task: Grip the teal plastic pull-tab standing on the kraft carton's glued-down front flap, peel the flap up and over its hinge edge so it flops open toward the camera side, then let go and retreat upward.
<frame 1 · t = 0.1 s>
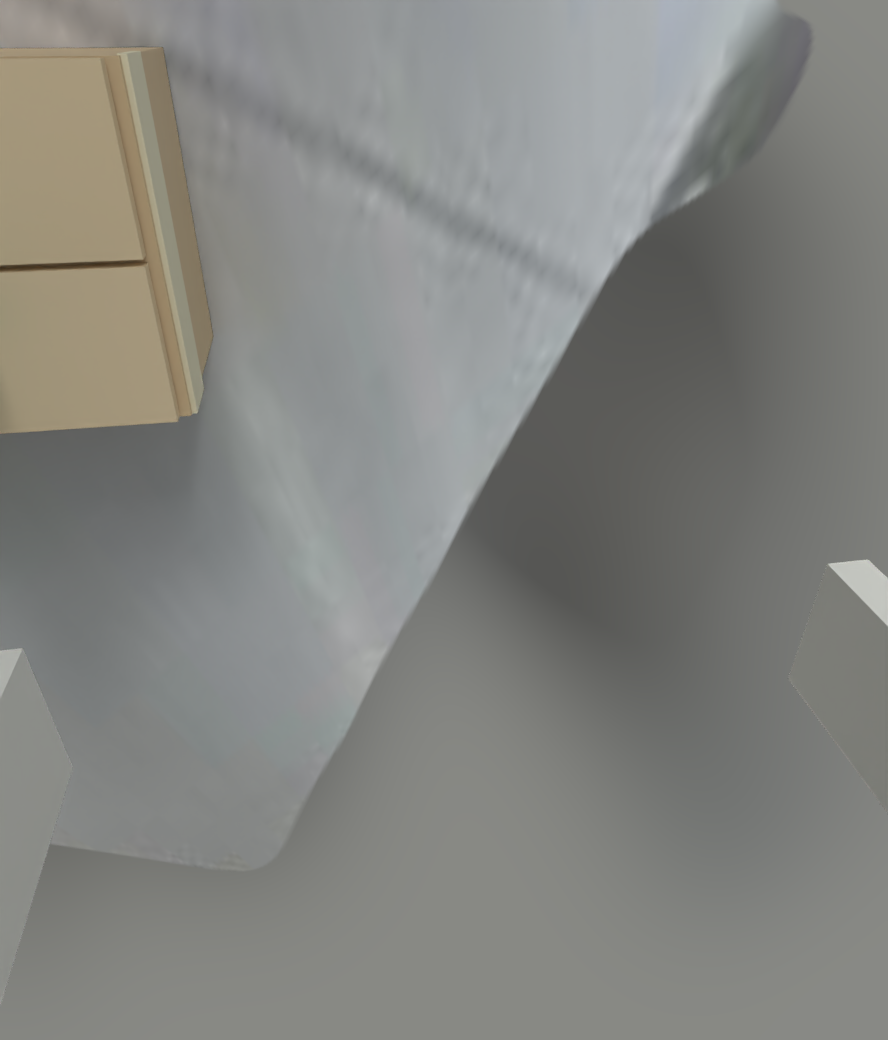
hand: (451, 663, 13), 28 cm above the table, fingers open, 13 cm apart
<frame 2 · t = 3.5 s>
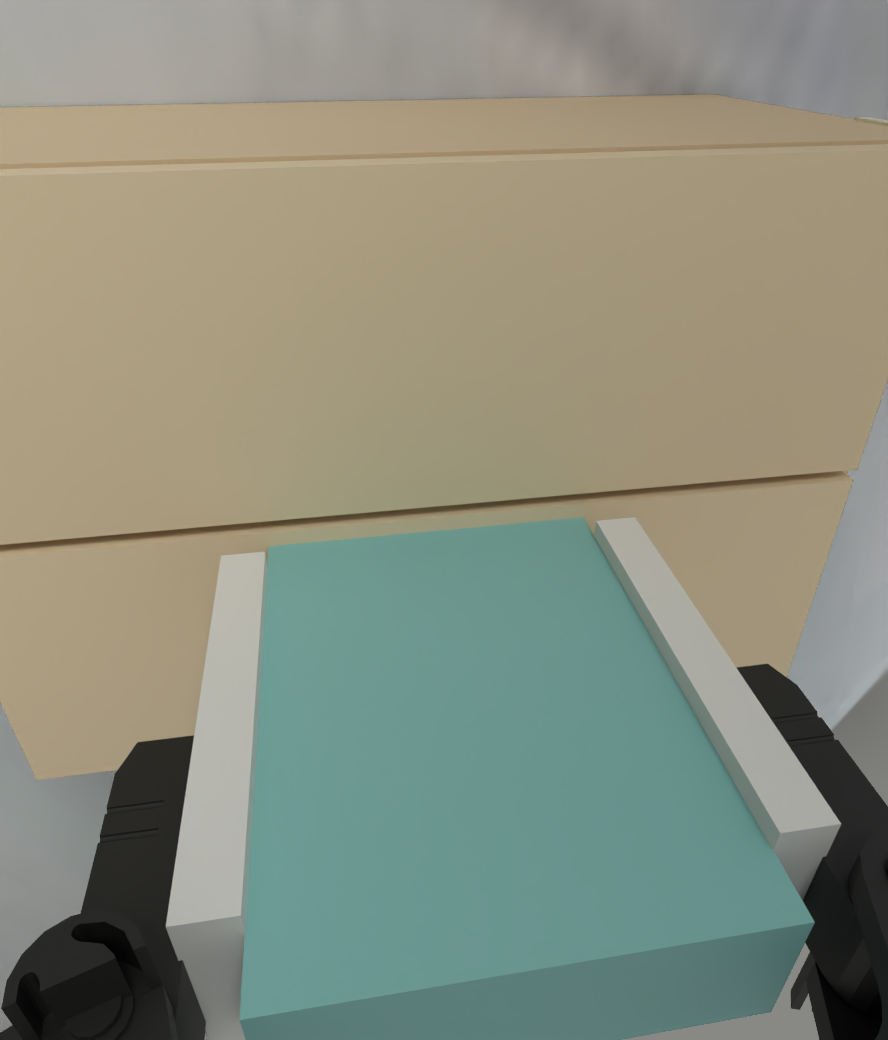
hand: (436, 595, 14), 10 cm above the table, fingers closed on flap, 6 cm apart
flap: (463, 782, 13), point 13 cm above the table, hinge at -0.1°, touching gripper
carton: (383, 335, 22), on the table
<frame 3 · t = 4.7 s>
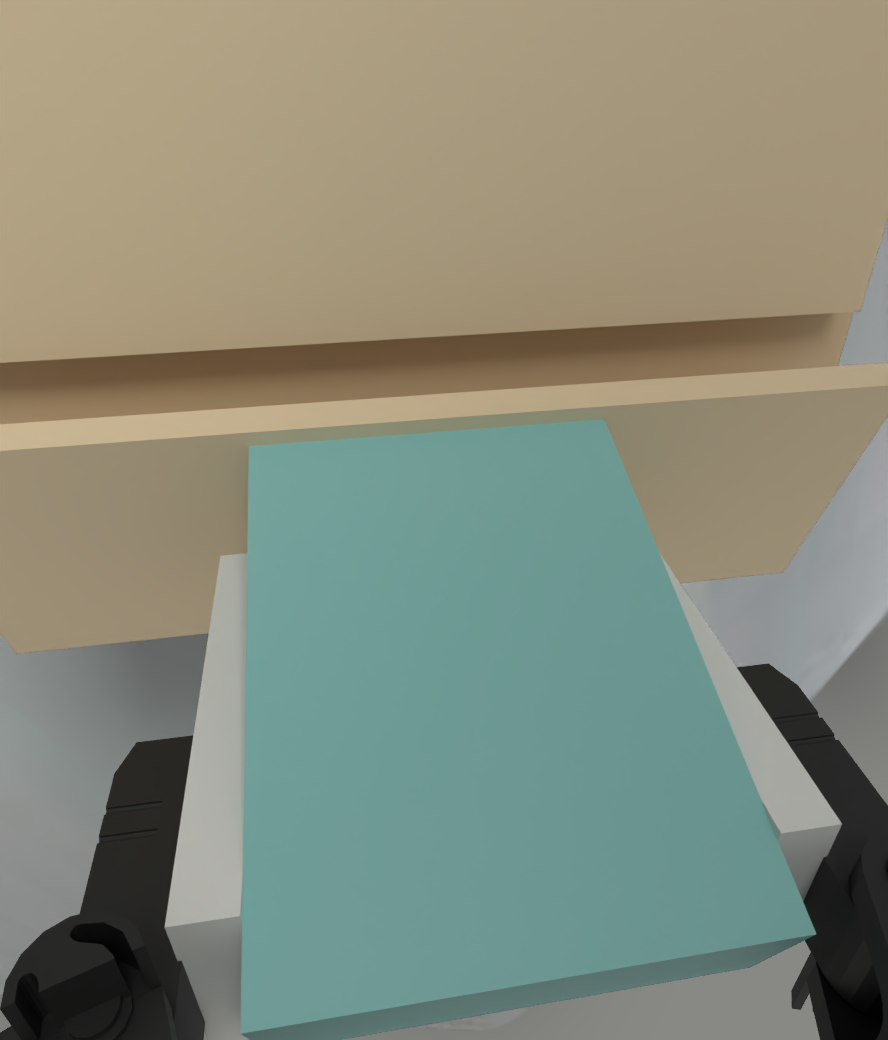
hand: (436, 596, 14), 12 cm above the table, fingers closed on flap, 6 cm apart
flap: (459, 705, 12), point 14 cm above the table, hinge at 18.0°, touching gripper
carton: (374, 229, 22), on the table
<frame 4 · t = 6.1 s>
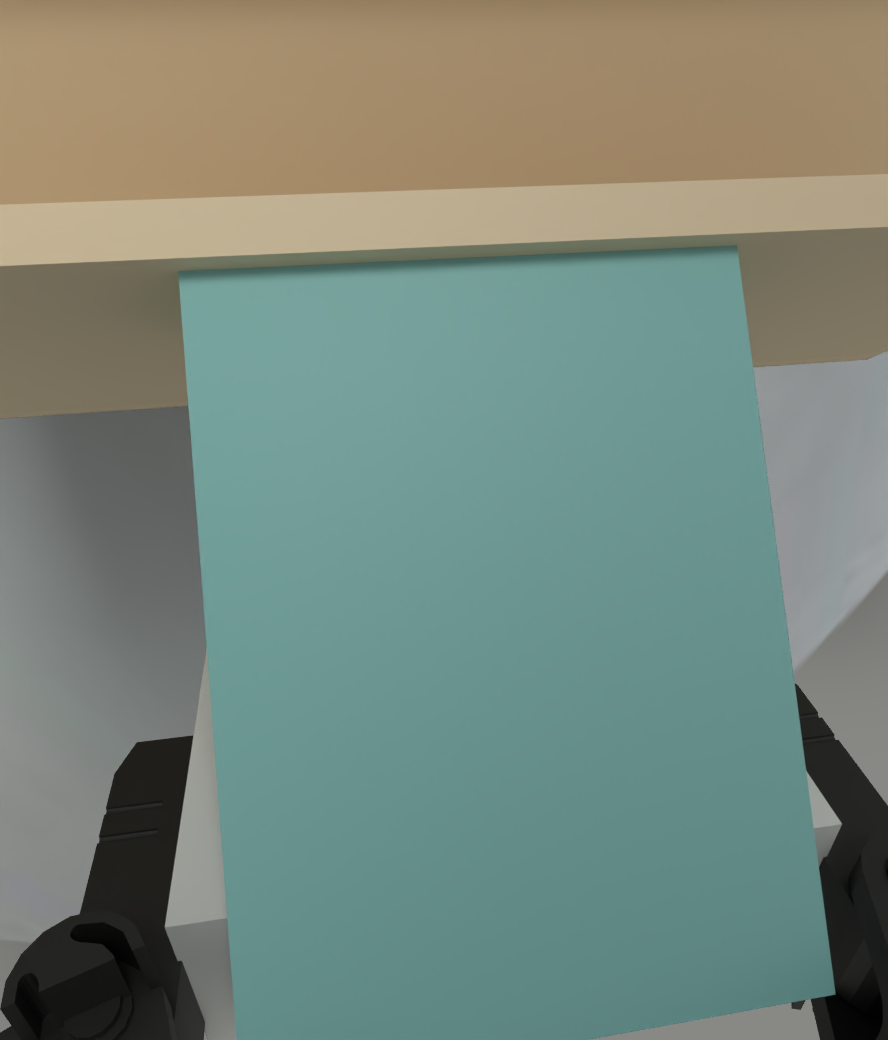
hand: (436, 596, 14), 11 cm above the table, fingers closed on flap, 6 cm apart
flap: (469, 601, 10), point 14 cm above the table, hinge at 51.8°, touching gripper
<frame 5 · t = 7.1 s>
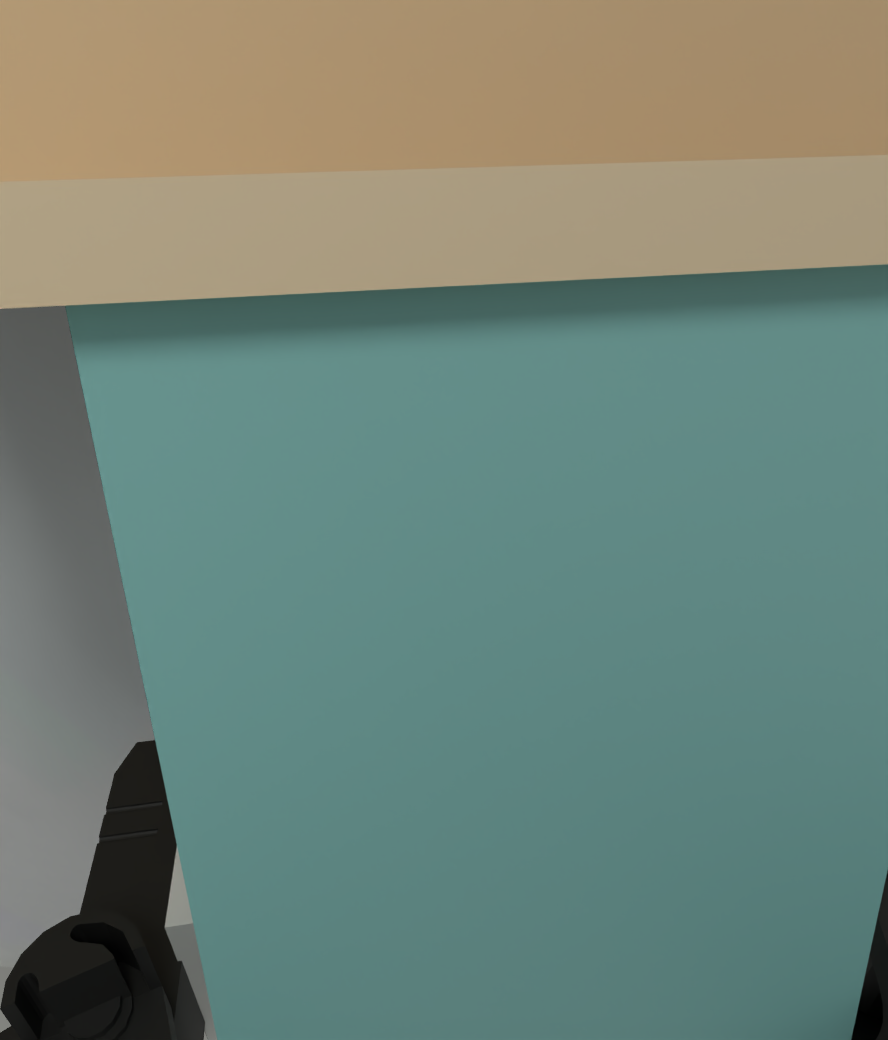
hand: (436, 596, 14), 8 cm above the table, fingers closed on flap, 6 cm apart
flap: (498, 619, 8), point 13 cm above the table, hinge at 76.4°, touching gripper
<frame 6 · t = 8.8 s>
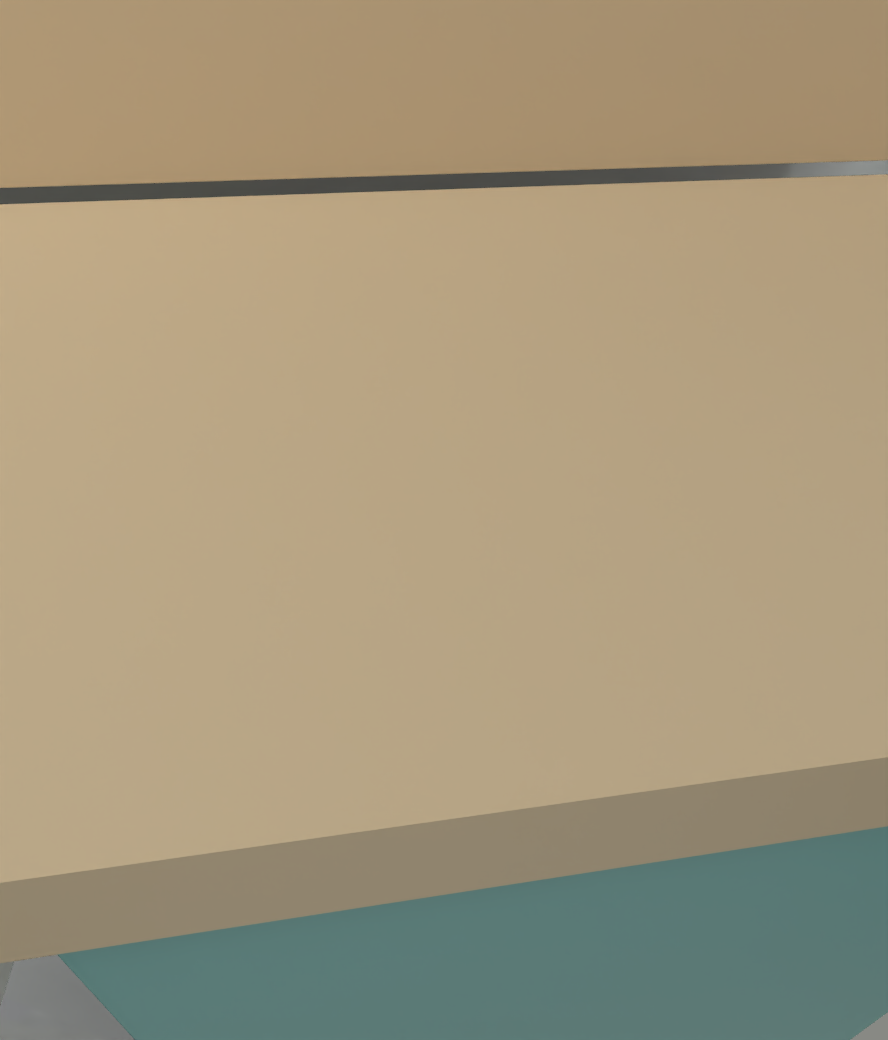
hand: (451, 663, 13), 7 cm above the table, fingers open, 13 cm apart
flap: (520, 729, 8), point 11 cm above the table, hinge at 98.9°
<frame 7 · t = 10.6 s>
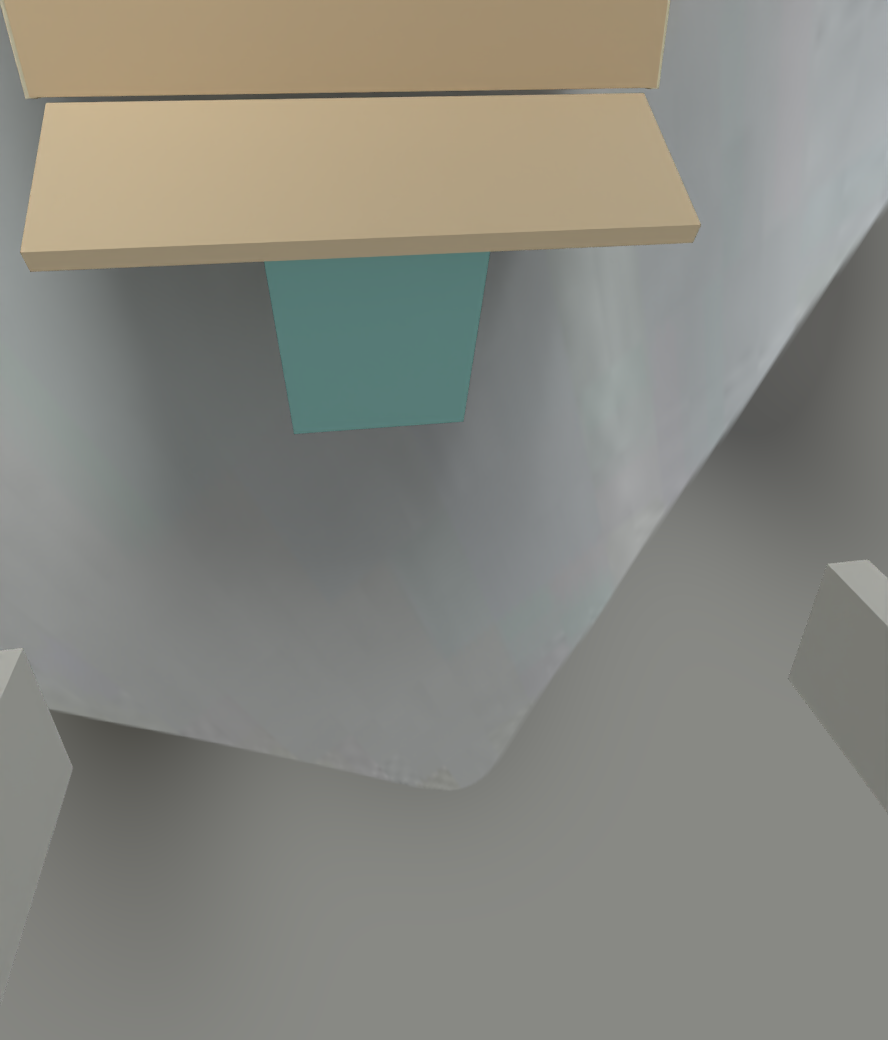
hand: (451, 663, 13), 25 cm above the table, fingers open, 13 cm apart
flap: (371, 282, 24), point 10 cm above the table, hinge at 118.4°
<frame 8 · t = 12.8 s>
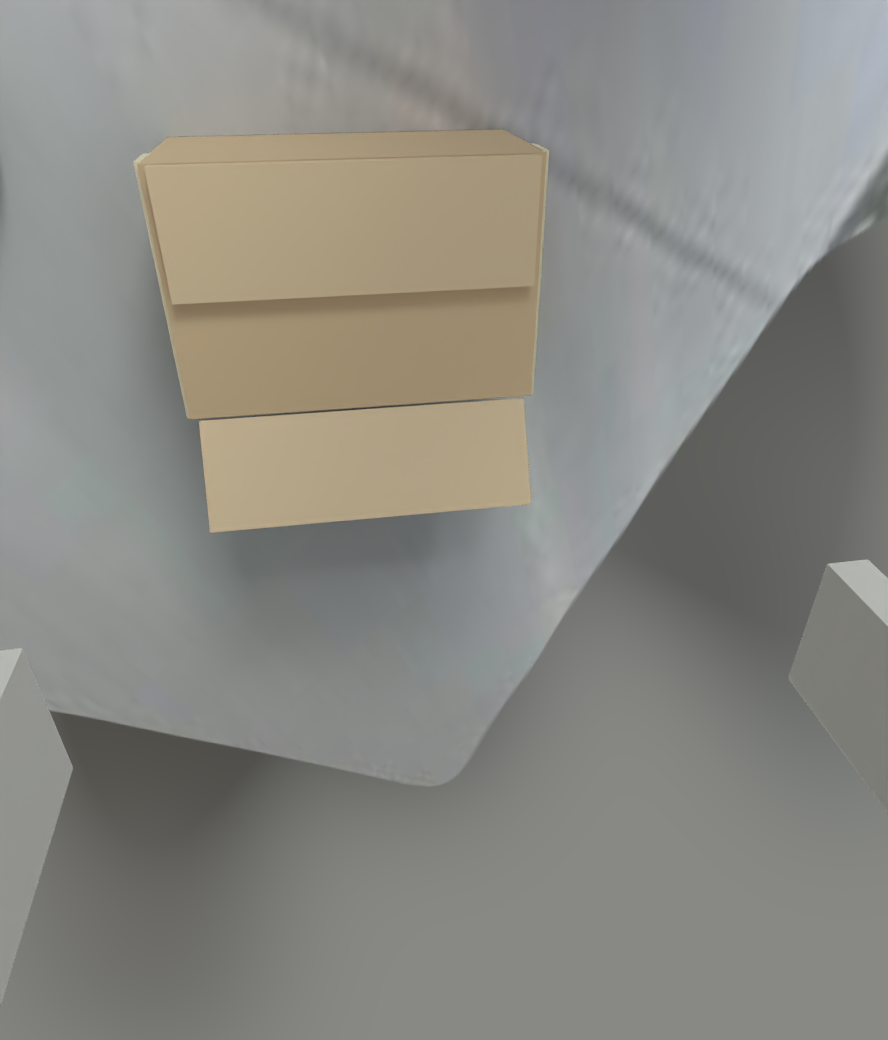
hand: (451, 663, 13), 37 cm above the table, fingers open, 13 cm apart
flap: (367, 465, 45), point 7 cm above the table, hinge at 150.1°
carton: (348, 247, 44), on the table
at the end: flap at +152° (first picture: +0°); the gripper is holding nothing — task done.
